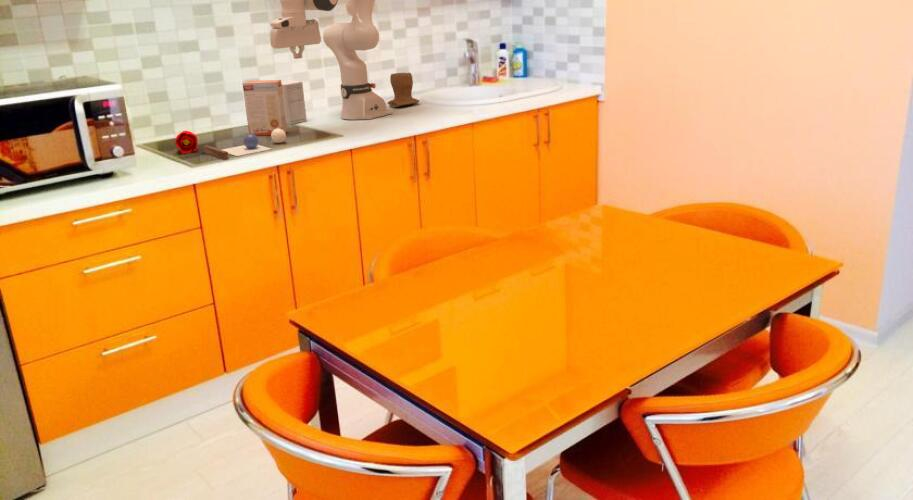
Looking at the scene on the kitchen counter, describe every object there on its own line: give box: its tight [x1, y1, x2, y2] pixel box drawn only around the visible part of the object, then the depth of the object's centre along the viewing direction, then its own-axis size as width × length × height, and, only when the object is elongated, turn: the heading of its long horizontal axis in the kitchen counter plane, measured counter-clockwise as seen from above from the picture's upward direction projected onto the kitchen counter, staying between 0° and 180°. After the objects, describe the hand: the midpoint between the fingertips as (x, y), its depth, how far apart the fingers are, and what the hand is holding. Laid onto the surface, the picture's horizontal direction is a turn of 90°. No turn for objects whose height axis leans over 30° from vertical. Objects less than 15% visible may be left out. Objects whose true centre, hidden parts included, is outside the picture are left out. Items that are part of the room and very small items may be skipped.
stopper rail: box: [203, 145, 230, 161], centre depth 291 cm, size 2×16×2 cm, turn 41°
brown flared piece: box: [387, 72, 420, 109], centre depth 370 cm, size 15×12×15 cm
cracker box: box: [242, 79, 288, 136], centre depth 320 cm, size 14×6×21 cm, turn 84°
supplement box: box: [281, 79, 307, 126], centre depth 342 cm, size 10×9×17 cm
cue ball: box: [270, 128, 287, 144], centre depth 306 cm, size 6×6×6 cm
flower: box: [174, 130, 198, 154], centre depth 299 cm, size 8×8×8 cm
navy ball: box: [242, 133, 260, 149], centre depth 299 cm, size 6×6×6 cm
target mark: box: [221, 144, 272, 157], centre depth 298 cm, size 14×14×1 cm
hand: (298, 58), depth 311 cm, fingers closed
